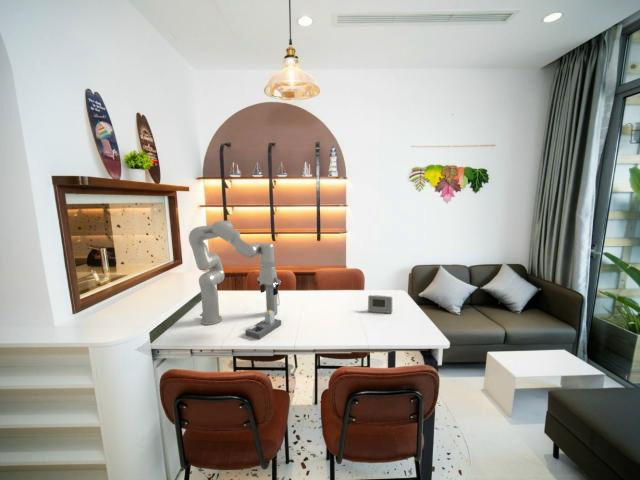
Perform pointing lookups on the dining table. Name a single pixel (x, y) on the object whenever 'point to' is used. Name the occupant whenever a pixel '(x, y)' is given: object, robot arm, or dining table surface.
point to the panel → (262, 329)
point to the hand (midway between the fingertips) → (269, 293)
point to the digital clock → (380, 304)
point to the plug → (269, 317)
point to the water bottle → (271, 299)
